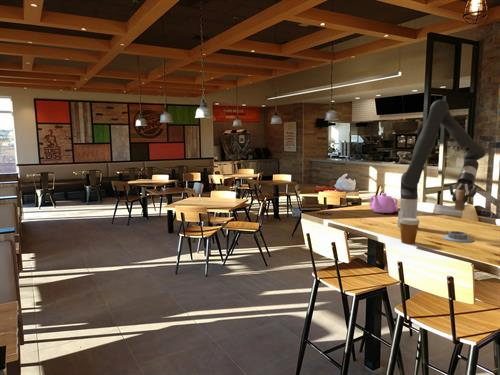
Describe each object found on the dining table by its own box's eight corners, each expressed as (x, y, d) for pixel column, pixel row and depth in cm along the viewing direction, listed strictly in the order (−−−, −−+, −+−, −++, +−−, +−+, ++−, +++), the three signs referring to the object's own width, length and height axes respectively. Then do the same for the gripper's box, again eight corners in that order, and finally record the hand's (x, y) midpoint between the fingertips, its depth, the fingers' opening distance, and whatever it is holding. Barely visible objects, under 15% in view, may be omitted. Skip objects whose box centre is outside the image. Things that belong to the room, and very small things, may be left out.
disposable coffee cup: (418, 245, 187) (420, 221, 186) (397, 243, 191) (399, 219, 189) (418, 241, 196) (419, 217, 195) (398, 239, 199) (399, 216, 198)
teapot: (359, 212, 279) (360, 193, 278) (375, 208, 294) (376, 190, 292) (388, 216, 263) (389, 196, 261) (403, 212, 277) (404, 193, 276)
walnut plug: (457, 210, 197) (459, 190, 196) (453, 208, 202) (454, 189, 201) (466, 210, 197) (467, 190, 196) (461, 208, 202) (462, 189, 201)
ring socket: (451, 242, 194) (451, 236, 194) (437, 235, 208) (437, 230, 208) (478, 242, 194) (479, 236, 194) (462, 235, 208) (463, 230, 208)
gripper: (451, 171, 208) (442, 195, 200) (481, 172, 198) (473, 198, 191) (453, 180, 212) (445, 204, 205) (483, 182, 202) (475, 207, 195)
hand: (459, 201), depth 198 cm, fingers closed on walnut plug, 4 cm apart
